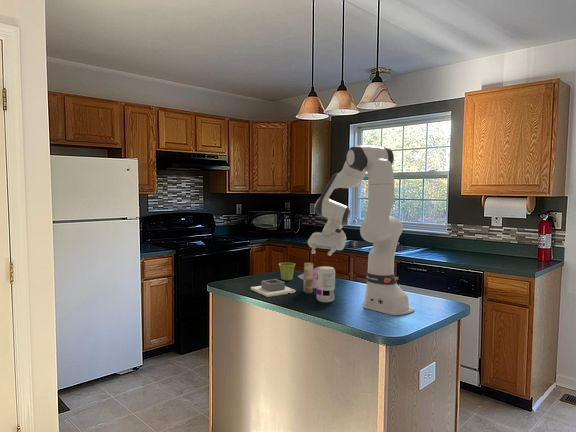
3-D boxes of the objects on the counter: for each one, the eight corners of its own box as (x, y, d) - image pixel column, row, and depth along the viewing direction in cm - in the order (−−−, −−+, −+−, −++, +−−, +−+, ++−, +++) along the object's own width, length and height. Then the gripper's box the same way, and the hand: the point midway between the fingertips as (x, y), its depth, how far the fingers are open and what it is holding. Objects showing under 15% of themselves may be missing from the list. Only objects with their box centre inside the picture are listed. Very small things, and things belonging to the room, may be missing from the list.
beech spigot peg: (314, 292, 203) (315, 264, 202) (307, 293, 201) (307, 264, 200) (309, 290, 207) (309, 262, 206) (301, 291, 204) (302, 263, 204)
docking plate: (295, 292, 202) (295, 283, 202) (267, 296, 193) (267, 286, 193) (278, 285, 216) (278, 276, 215) (250, 289, 207) (250, 280, 206)
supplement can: (313, 301, 188) (314, 268, 187) (320, 296, 195) (321, 265, 194) (330, 303, 184) (331, 270, 183) (337, 299, 191) (337, 267, 190)
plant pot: (276, 280, 227) (276, 264, 227) (281, 277, 236) (281, 261, 236) (292, 282, 225) (292, 266, 224) (297, 278, 234) (297, 263, 233)
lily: (295, 286, 219) (294, 272, 214) (311, 275, 226) (310, 261, 220) (312, 297, 212) (311, 283, 206) (327, 285, 218) (327, 271, 213)
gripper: (311, 228, 223) (301, 248, 216) (345, 230, 212) (336, 252, 205) (315, 235, 227) (305, 255, 220) (349, 238, 216) (340, 260, 209)
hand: (320, 254), depth 212 cm, fingers open, 8 cm apart
